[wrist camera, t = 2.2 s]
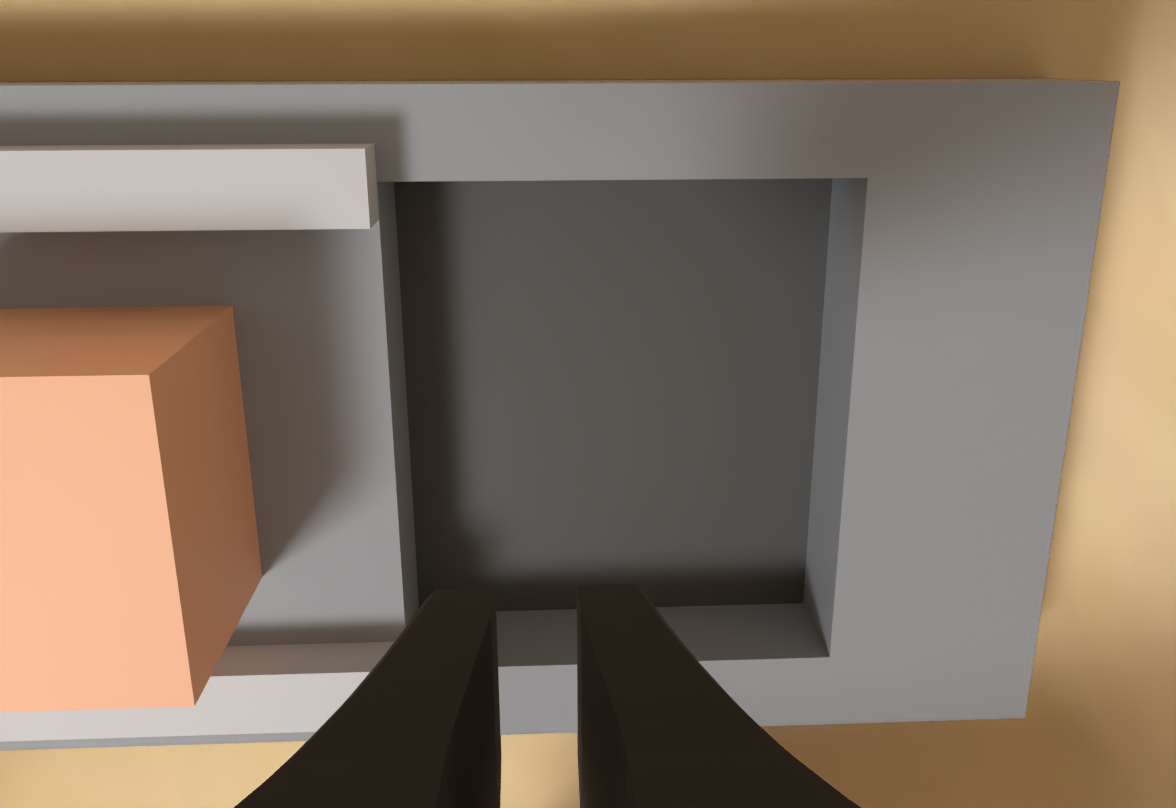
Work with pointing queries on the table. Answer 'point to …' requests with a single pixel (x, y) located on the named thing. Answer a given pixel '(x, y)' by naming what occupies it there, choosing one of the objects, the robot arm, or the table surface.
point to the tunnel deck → (602, 367)
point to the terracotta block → (120, 505)
